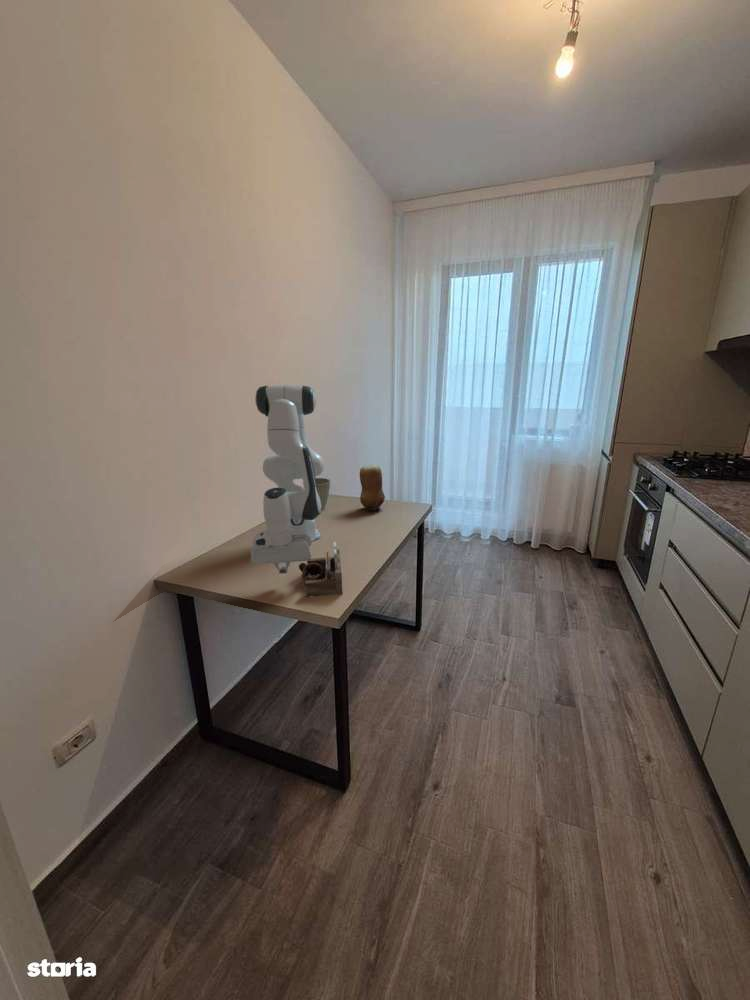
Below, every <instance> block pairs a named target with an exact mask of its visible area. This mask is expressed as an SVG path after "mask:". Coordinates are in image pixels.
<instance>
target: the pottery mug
mask: <svg viewBox="0 0 750 1000" xmlns="http://www.w3.org/2000/svg"><path fill="white" fill-rule="evenodd" d="M310 566H311V567H310ZM298 569H299V571H300V572H301V577H302V580H303V581H302V582H303V583H302V584H303V586H304V587H305V588H306V586H305V581H309V580H322V579H326V569H324V568H323V566H321V565H320V564H318V563H309V564H307V563H304V562H301V563H300V564H299V565H298ZM309 572H310V573H309ZM309 574H310V577H308V576H309ZM313 575H314V576H316V577H313ZM311 576H312V577H311Z"/></svg>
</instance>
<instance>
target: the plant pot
mask: <svg viewBox="0 0 750 1000" xmlns="http://www.w3.org/2000/svg"><path fill="white" fill-rule="evenodd" d="M315 479H316V484H317V489H318V494H319V497H320V501H321V511H323V510H325V509H326V506H327V504H328V500H329V499H328V498H329V494H330V486H331V480H330V479H329V478H324V477H315ZM302 484H303V486H304V483H303V482H302Z"/></svg>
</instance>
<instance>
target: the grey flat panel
mask: <svg viewBox="0 0 750 1000" xmlns="http://www.w3.org/2000/svg"><path fill="white" fill-rule="evenodd" d="M325 558H326V572H325V573H326V576H325V577H326V578H325V579H332V572H331V568H330V556H329V551H326V556H325Z"/></svg>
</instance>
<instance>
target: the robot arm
mask: <svg viewBox="0 0 750 1000" xmlns="http://www.w3.org/2000/svg"><path fill="white" fill-rule="evenodd" d="M254 401H255V405H256V408H257V410H258V411H259V413H261V414H262V415H265V417H267V431H266V433H267V443H268V446H269V449H270V450H271V451H272V452H273V453H274V454H275V455H271V456H267V457H266V458H265V459H264V461H263V463H262V472H263V474H264V476H265V477H266V479H268V480H269V481H272V482H273V483H274V485H276V486H277V487H272V488H269V489H267V490H266V491H265V492H264V494H263V504H262V505H263V508H262V509H263V518H264V521H265V529H264V530H262V531H259V532H257V533H255V534H254V536H253V538H252V546H251V550H250V560H251V561H250V562H251V563H252V564H253V565H266V564H274V567H275V568H276V569H277V570H278V575H279V574H280V575H282V574H288V573H289V572H288V568H289V567H290V564H291V563H294V562H307V561H308V560H310V559H312V550H311V549H312V548H311V545H312V542H313V541H315V540H318V539H320V538H321V534H320V532H319V530H318V529H317V526H316V521H315V519H316V518H318V516H319V515H321V512H322V510H321V501H320V497H319V494H318V489H317V484H316V479H315V478H317V477H318V476H321V475H322V473H323V472H324V469H325V462H324V459H323V458H322V456H321V455H320V454H318V453H317V452H316V451H314V450H313V449H312V447H310V445H309V444H308V441H307V437H306V428H305V416H306V415H307V416H308V415H310V414H312V413H313V412H314V411H315V408H316V405H317V395H316V393H315V390H314V388H312V387H311V386H309V385H308V386H307V385H303V386H301V385H295V384H285V385H284V384H282V385H281V384H279V385H263V386H259V387H258V389H257V390H256V393H255V398H254ZM301 479H302V484H303V483H304V485H303V486H301V485H299V484H296V483H295V482H294V480H301ZM280 563H281V564H282V563H284V564H285V566H280Z"/></svg>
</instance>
